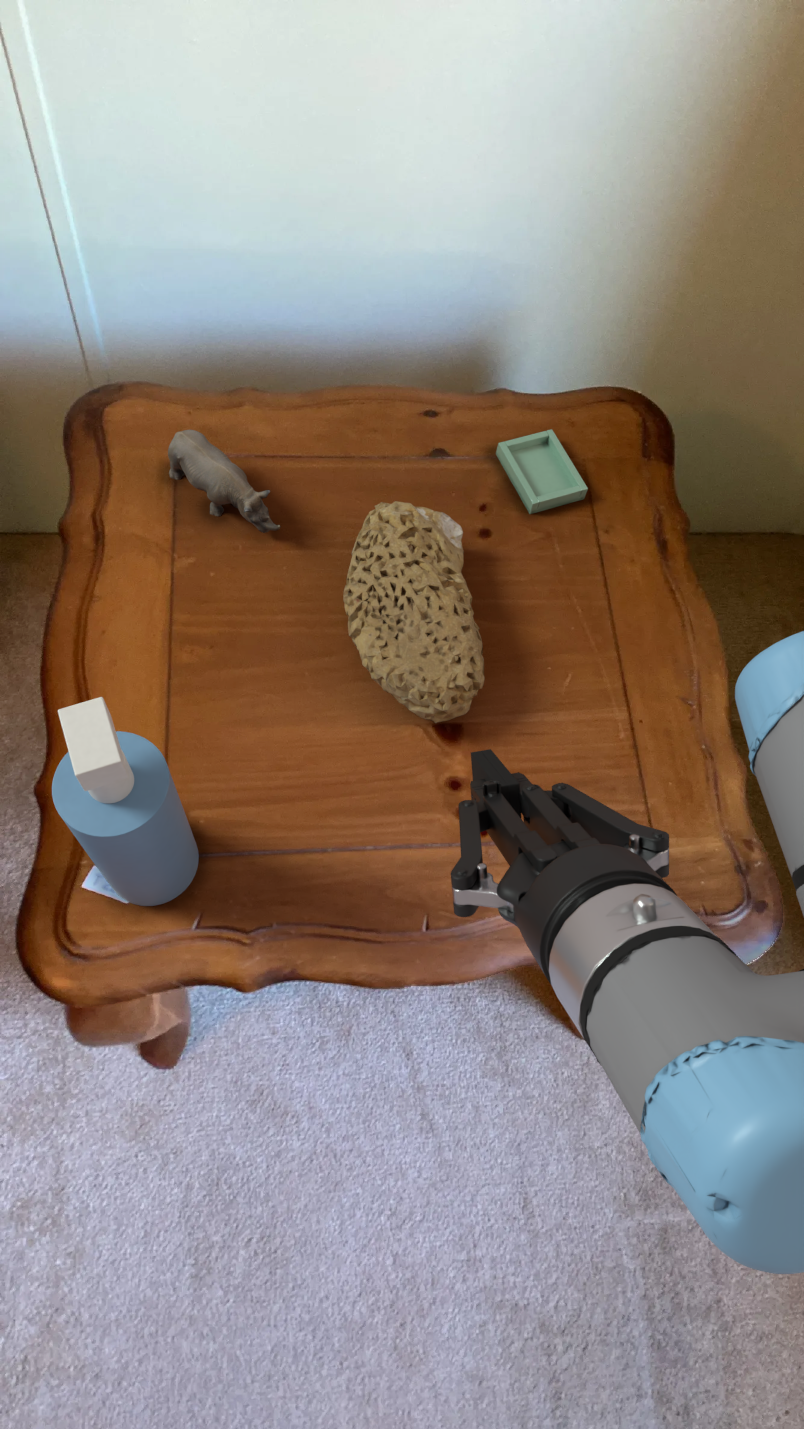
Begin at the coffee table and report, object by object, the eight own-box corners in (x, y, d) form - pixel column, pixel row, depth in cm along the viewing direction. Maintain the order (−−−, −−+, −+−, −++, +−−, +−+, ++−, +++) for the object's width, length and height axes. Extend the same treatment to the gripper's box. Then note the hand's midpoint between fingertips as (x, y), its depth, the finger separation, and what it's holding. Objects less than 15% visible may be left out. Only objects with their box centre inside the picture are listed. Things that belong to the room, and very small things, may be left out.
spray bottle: (210, 887, 70) (170, 781, 51) (118, 920, 68) (42, 823, 49) (184, 807, 73) (137, 677, 54) (95, 836, 71) (15, 713, 52)
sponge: (350, 542, 87) (312, 703, 74) (372, 478, 81) (335, 641, 69) (480, 583, 89) (465, 746, 77) (511, 524, 83) (500, 689, 71)
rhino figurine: (262, 562, 84) (259, 520, 78) (161, 477, 87) (150, 431, 82) (294, 537, 85) (293, 494, 80) (193, 454, 89) (185, 408, 83)
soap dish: (583, 500, 90) (588, 488, 89) (529, 516, 89) (533, 503, 87) (548, 441, 93) (552, 428, 92) (494, 455, 92) (498, 442, 90)
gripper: (745, 852, 44) (565, 705, 66) (482, 903, 42) (387, 733, 64) (741, 985, 46) (569, 800, 68) (493, 1039, 44) (398, 830, 66)
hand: (482, 768), depth 66 cm, fingers closed
